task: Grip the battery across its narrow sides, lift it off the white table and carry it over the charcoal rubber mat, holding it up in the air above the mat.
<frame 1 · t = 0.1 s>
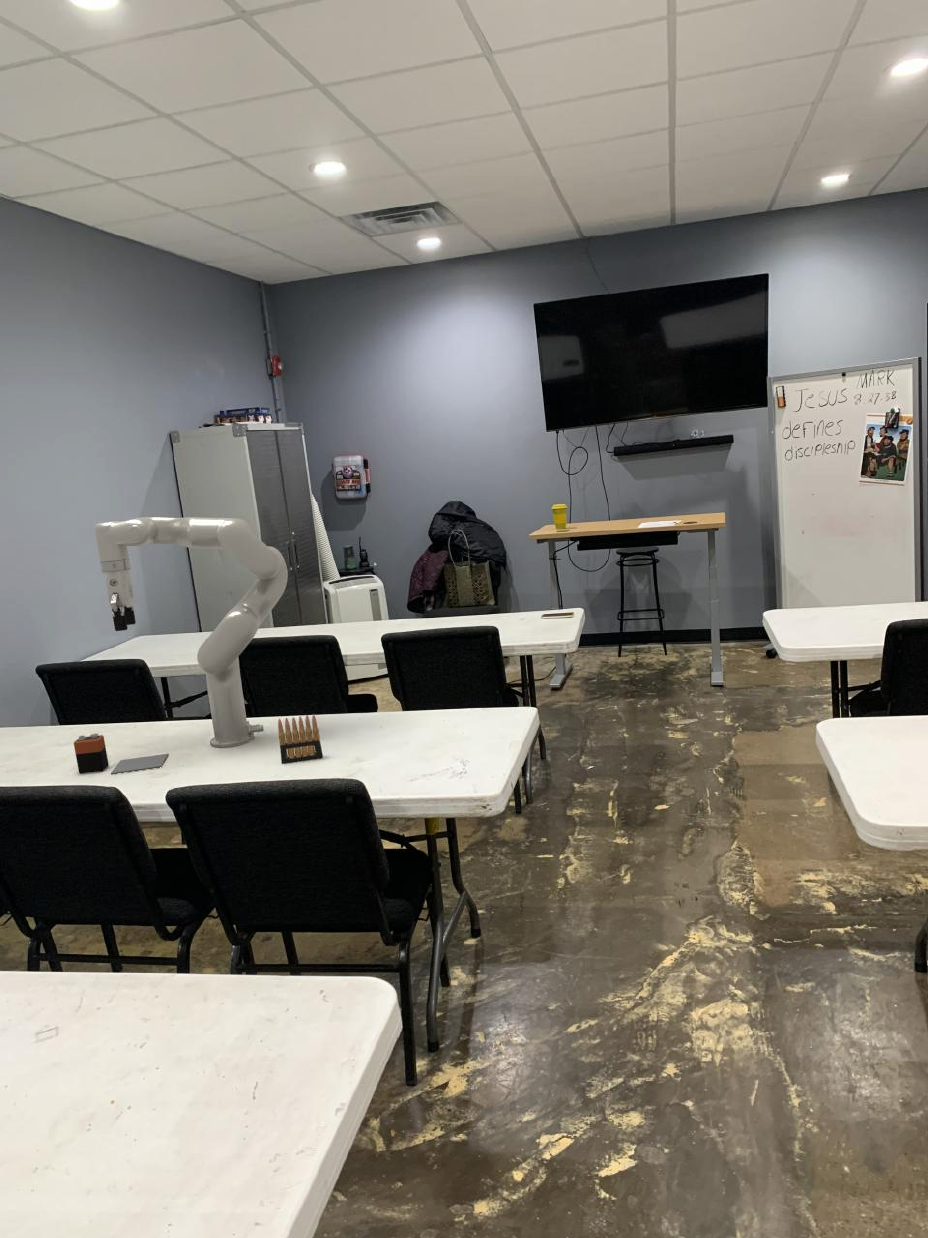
hand: (125, 627, 241), 37 cm above the table, tool pointing down, fingers open, 9 cm apart
battery: (94, 771, 236), on the table
ammunition clip: (302, 761, 227), on the table
mat: (140, 764, 237), on the table
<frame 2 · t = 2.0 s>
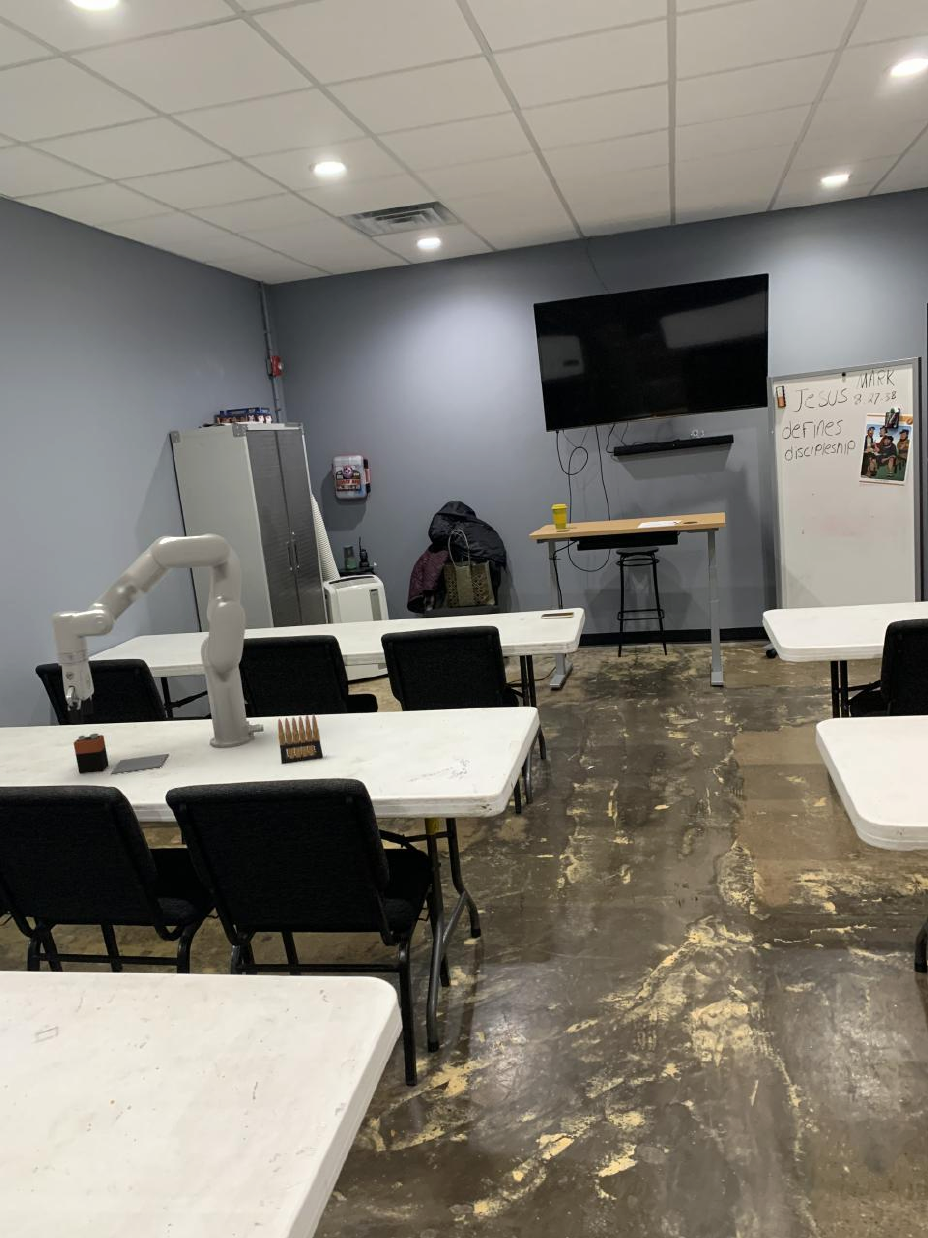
hand: (82, 719, 233), 15 cm above the table, tool pointing down, fingers open, 9 cm apart
nothing on the table moved.
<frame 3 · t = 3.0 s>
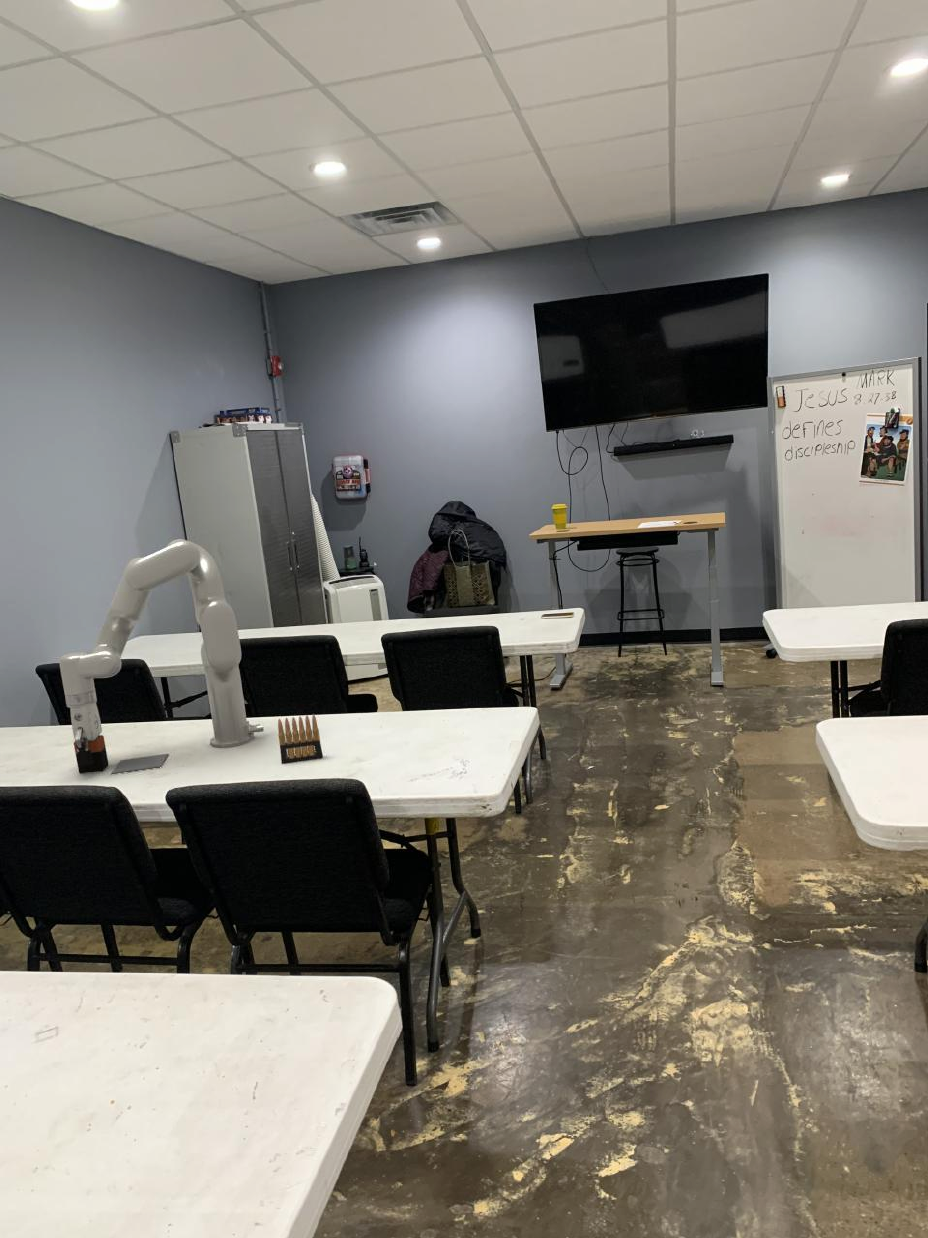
hand: (91, 759, 235), 3 cm above the table, tool pointing down, fingers open, 9 cm apart
nothing on the table moved.
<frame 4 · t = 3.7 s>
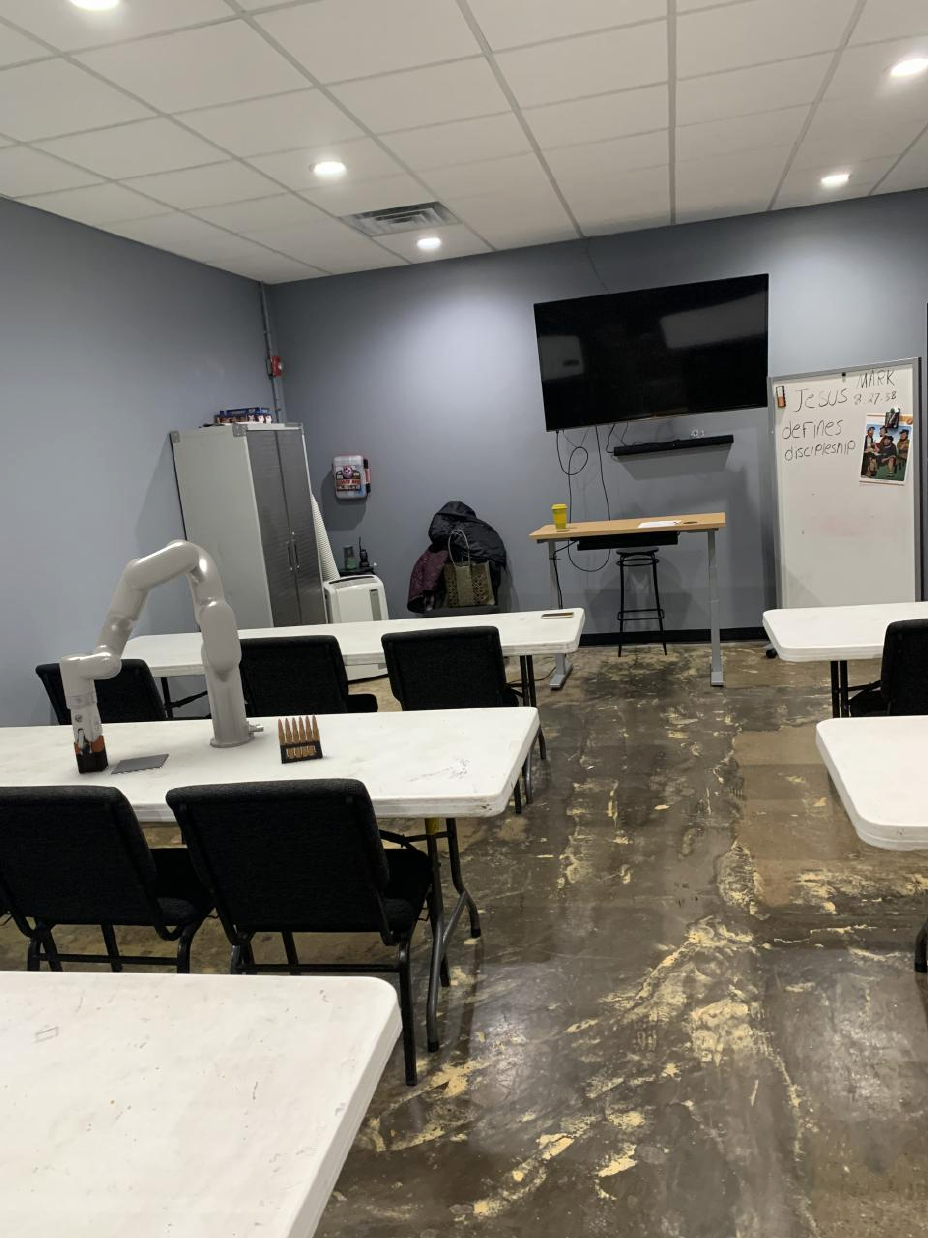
hand: (92, 763, 236), 2 cm above the table, tool pointing down, fingers closed on battery, 4 cm apart
battery: (94, 770, 236), on the table, touching gripper
everything else where it was.
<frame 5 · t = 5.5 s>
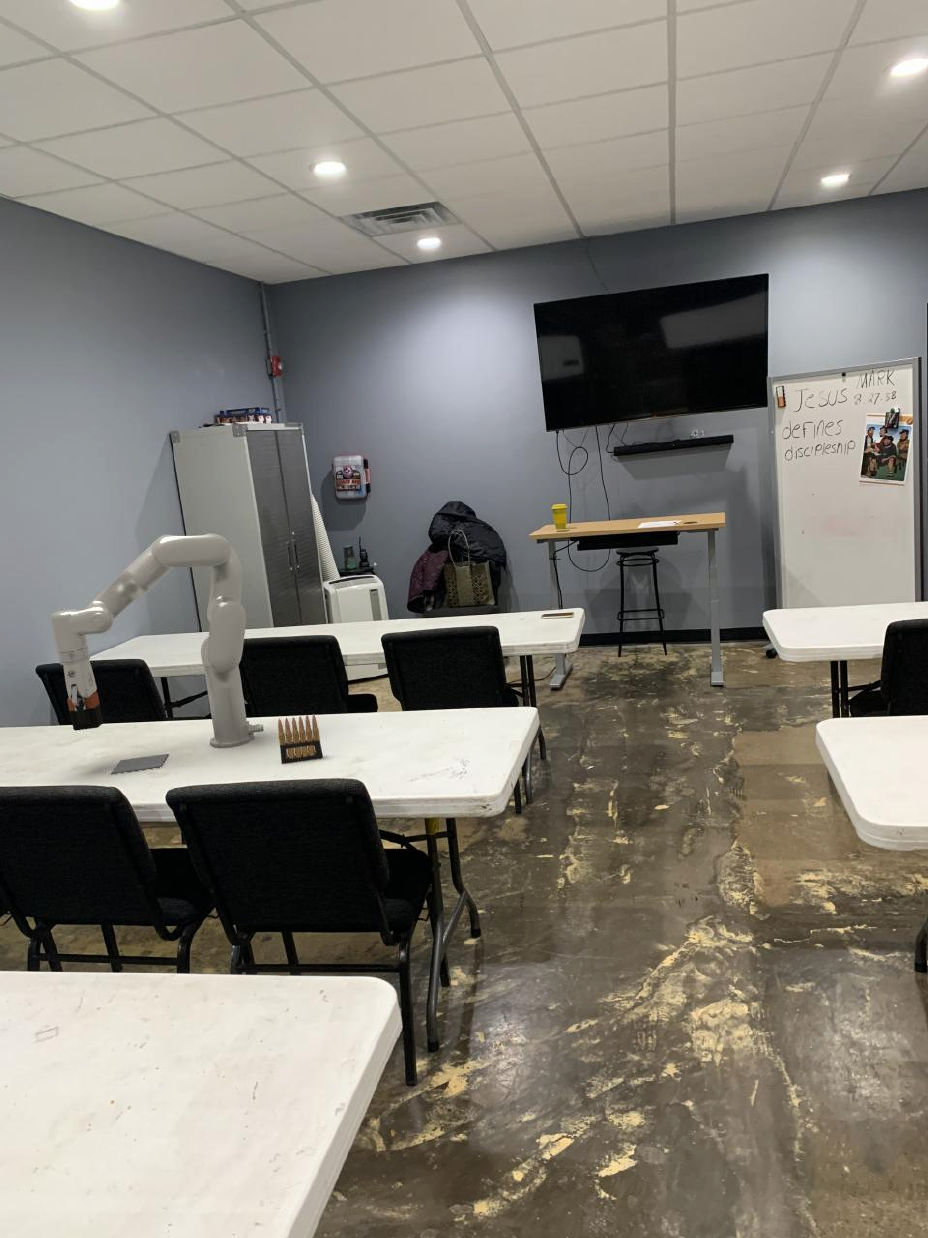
hand: (87, 720, 234), 14 cm above the table, tool pointing down, fingers closed on battery, 4 cm apart
battery: (89, 728, 234), point 12 cm above the table, touching gripper
everything else where it was.
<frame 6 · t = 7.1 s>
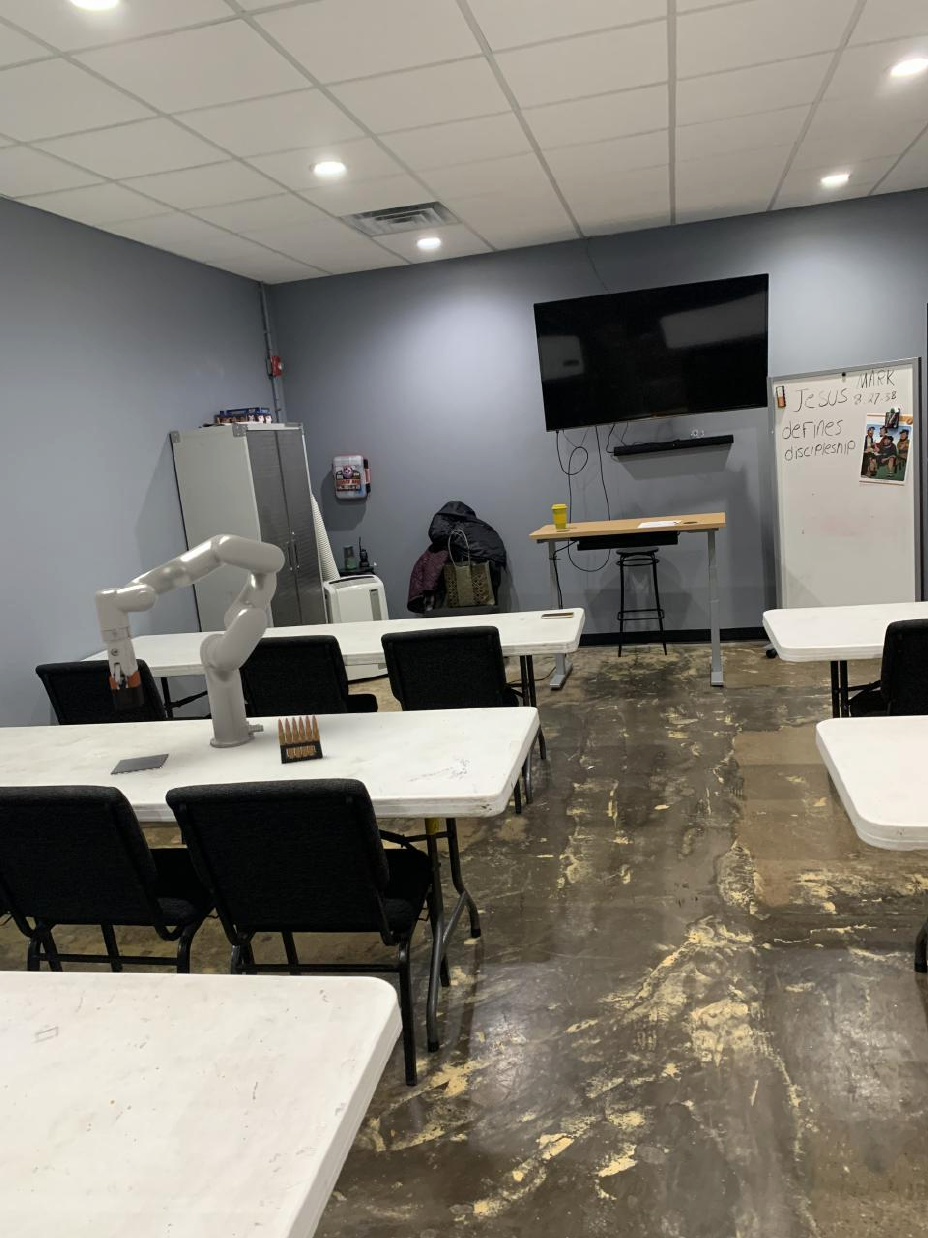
hand: (129, 699, 233), 19 cm above the table, tool pointing down, fingers closed on battery, 4 cm apart
battery: (130, 707, 234), point 16 cm above the table, touching gripper
everything else where it was.
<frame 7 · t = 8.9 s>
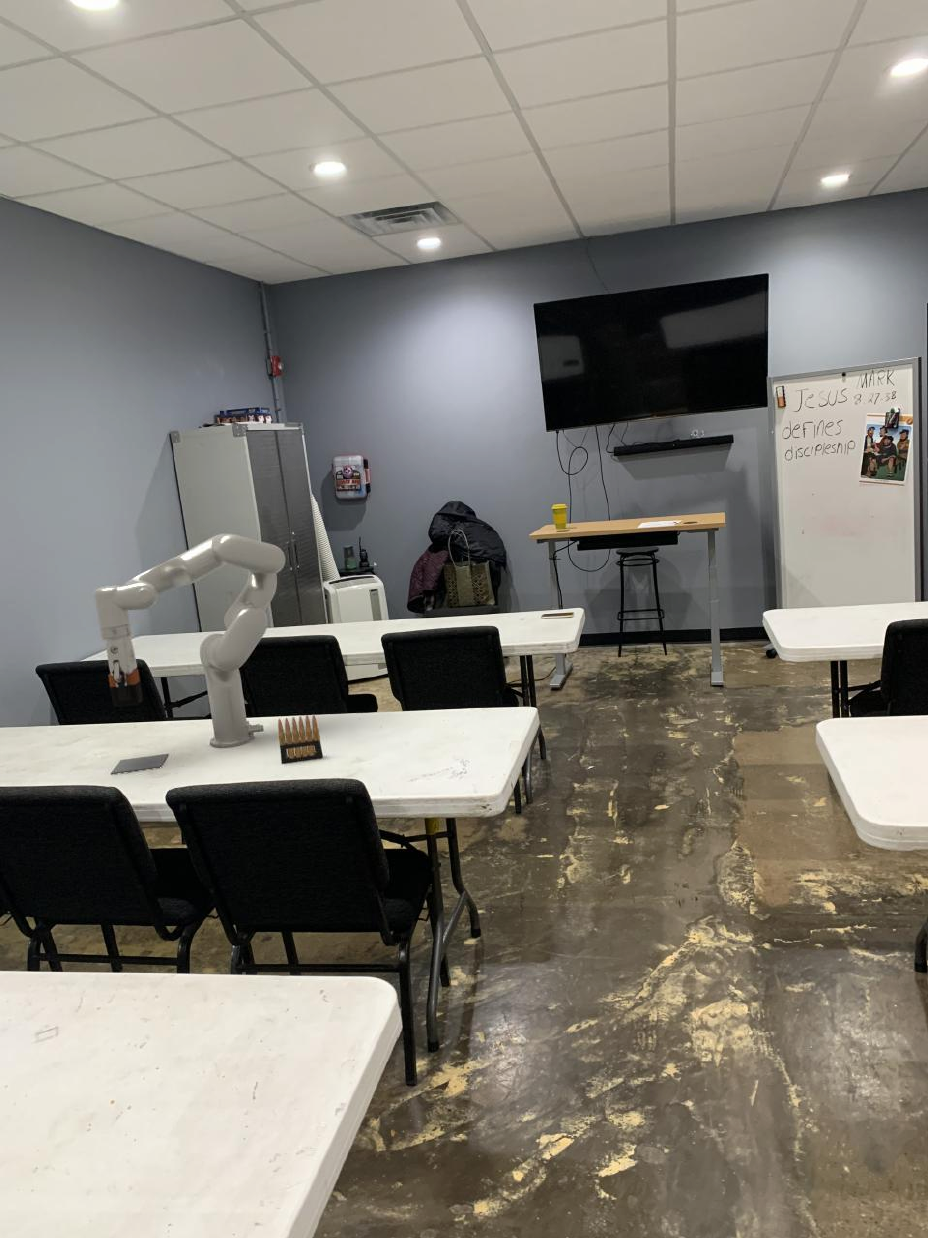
hand: (127, 697, 233), 19 cm above the table, tool pointing down, fingers closed on battery, 4 cm apart
battery: (129, 704, 234), point 17 cm above the table, touching gripper
everything else where it was.
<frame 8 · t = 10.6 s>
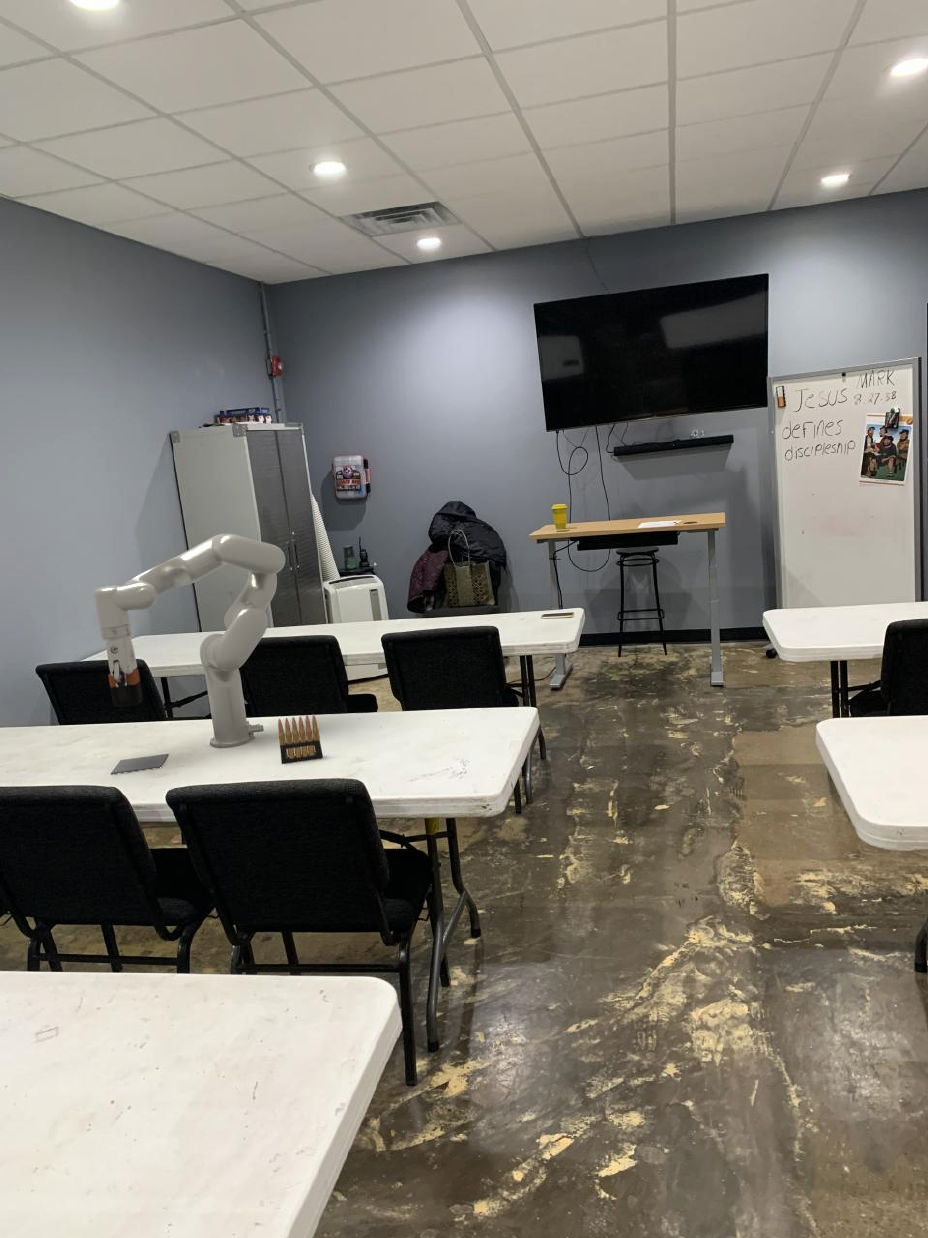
hand: (127, 697, 233), 19 cm above the table, tool pointing down, fingers closed on battery, 4 cm apart
battery: (129, 704, 234), point 17 cm above the table, touching gripper
everything else where it was.
at the end: the gripper is holding battery; battery inside the target area on the mat (0.4 cm from its centre), point 17.1 cm above the mat's base; battery moved 21.0 cm from its start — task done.
